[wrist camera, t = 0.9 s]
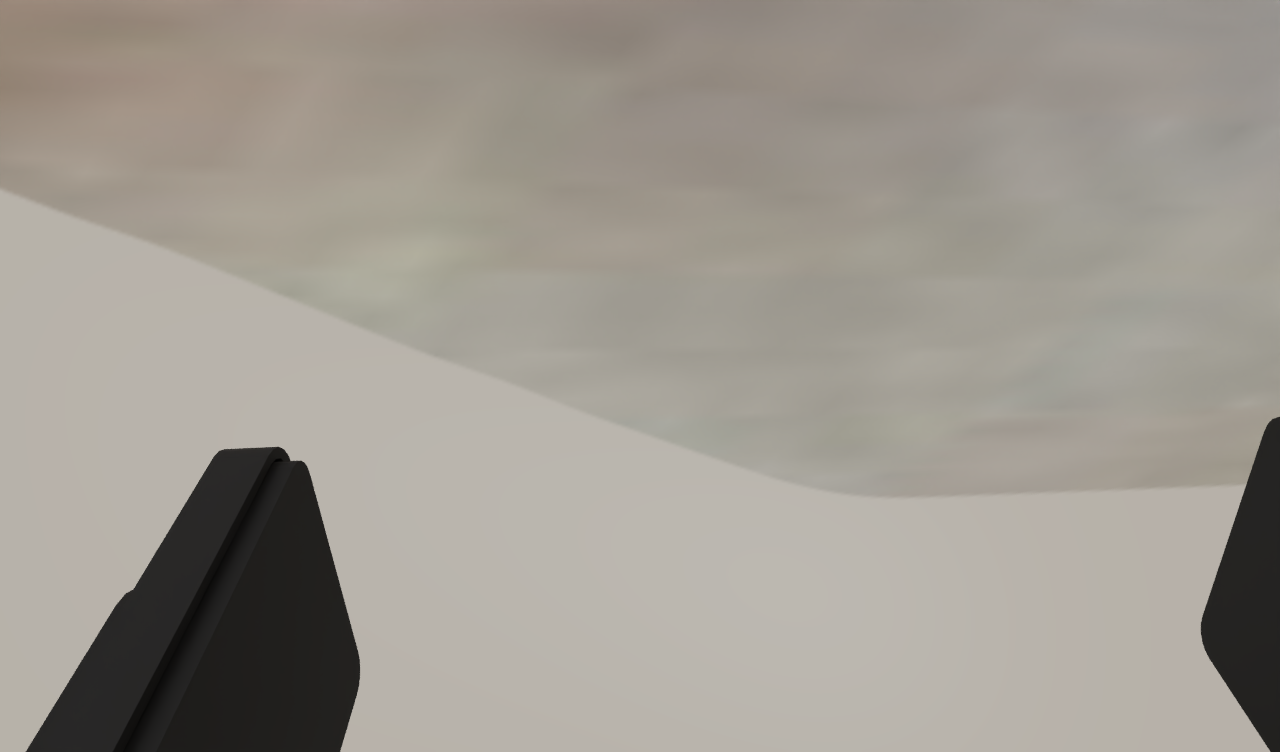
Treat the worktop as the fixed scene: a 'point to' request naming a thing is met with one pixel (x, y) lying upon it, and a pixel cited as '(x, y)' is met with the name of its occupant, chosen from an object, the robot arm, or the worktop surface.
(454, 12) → the worktop surface
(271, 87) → the worktop surface
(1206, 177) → the worktop surface
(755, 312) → the worktop surface
